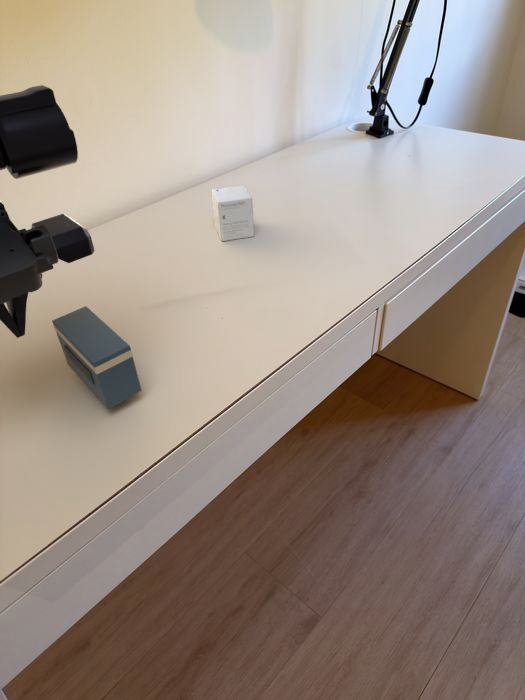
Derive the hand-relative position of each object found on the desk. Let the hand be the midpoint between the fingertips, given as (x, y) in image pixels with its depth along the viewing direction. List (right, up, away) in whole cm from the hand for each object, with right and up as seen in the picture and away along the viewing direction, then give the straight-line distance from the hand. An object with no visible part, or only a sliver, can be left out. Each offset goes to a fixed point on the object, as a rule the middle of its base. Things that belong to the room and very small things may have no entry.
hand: (19, 335), depth 56 cm
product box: (+21, +20, +39) cm, 49 cm away
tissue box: (+6, -2, +8) cm, 10 cm away
